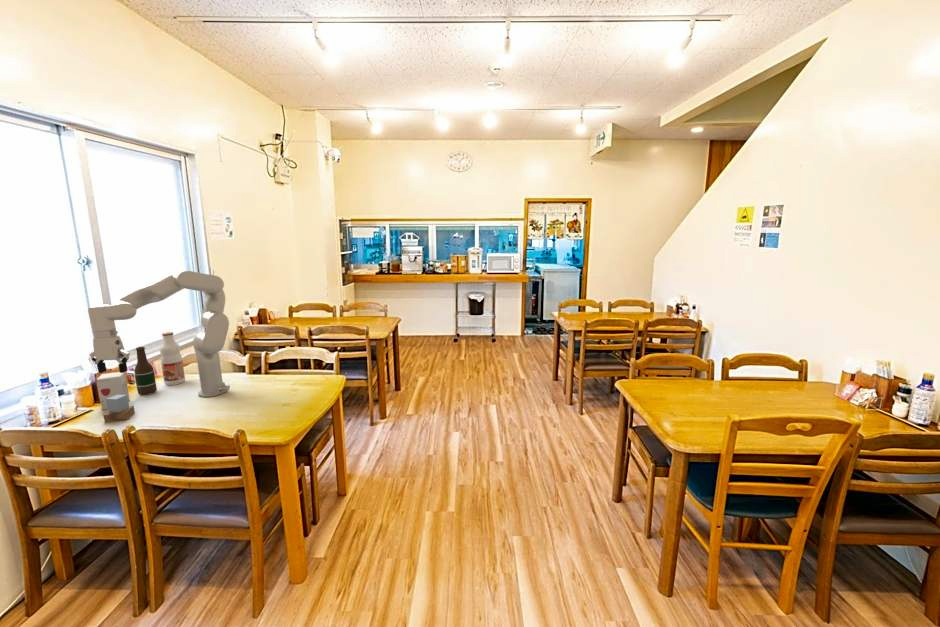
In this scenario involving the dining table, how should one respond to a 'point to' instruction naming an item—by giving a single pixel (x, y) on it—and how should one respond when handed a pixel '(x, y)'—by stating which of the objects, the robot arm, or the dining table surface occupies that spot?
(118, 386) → the supplement box
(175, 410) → the dining table surface
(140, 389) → the beer bottle
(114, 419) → the walnut block
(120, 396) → the cube
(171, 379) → the fruit juice
